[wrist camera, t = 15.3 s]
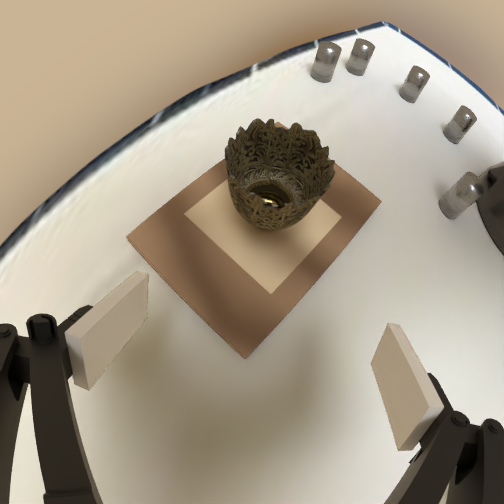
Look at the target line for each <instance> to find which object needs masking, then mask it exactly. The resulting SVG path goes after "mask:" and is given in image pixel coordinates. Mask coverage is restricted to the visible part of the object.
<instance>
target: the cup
mask: <svg viewBox="0 0 504 504" xmlns="http://www.w3.org/2000/svg"><path fill="white" fill-rule="evenodd" d="M328 155H329V147H328V146H327V147H324V148H322V147H321V144H320V139H319V137H318V136H317V134H316V132H315V131H313V130H303V129H302V126H301V125H300V124H298V123H294V124H292V126H291V128H290V129H285V128H284V127H278V128H277V127H276V126H275V125H274V119H269V120H268V121H267V123H266V124H265V123H264V122H263V121H262V120H261V119H258V118H257V119H255V120H253V121H252V123H251V124H250V125H249V127H248V128H247V130H245V129H243V128H242V127H241V126H240V127H239V129H238V131H237V133H236V140H234V139H233V138H229V141H228V146H227V147H225V165H226V172H227V180H228V186H229V192H230V196H231V199H232V202H233V204H234V206H235V209H236V210H237V212H238V213H239V214H240V215H241V217H242V218H244V219H245V220H246V221H247V222H248V223H250V224H252V225H253V226H255V227H257V228H259V229H262V230H281V229H285V228H288V227H291V226H293V225H295V224H296V223H298V222H299V221H301V220H302V219H303V218H304V217H305V216H306V215H307V214H308V213H309V212H310V211H311V209H312V208H313V207H314V206H315V205H316V203H317V202H318V201H319V199H320V198H321V197H322V196H323V194H324V193H325V192H326V191H327V190H328V189H329V188H330V186H331V184H330V183H331V181H332V180H333V178H334V175H335V170H334V163H335V161H334V160H327V159H328Z"/></svg>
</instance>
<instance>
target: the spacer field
mask: <svg viewBox="0 0 504 504" xmlns="http://www.w3.org/2000/svg"><path fill="white" fill-rule="evenodd" d="M374 49H375V46H374V45H373V44H372V43H371V42H369V41H367V40H364V39H356V41H355V44H354V47H353V49H352V52H351V55H350V57H349V60H348V63H347V65H346V69H347V70H348V71H349V72H350V73H352V74H354V75H357V76H362V75H364V72H365V70H366V68H367V65H368V63H369V61H370V58H371V56H372V54H373V51H374ZM341 50H342V49H341V47H340V46H338V45H337V44H335V43H332V42H328V41H321V42H320V44H319V47H318V51H317V54H316V57H315V61H314V64H313V68H312V71H311V76H312V78H313V79H315V80H317V81H319V82H323V83H327V82H330V81H331V79H332V76H333V73H334V70H335V67H336V64H337V61H338V59H339V56H340V53H341ZM429 78H430V75H429V74H428V73H427V72H426V71H425V70H424V69H422V68H420V67H418V66H413V67H412V69H411V71H410V72H409V74H408V76H407V78H406V80H405V82H404V84H403V85H402V87H401V89H400V91H399V94H400V96H401V97H402V98H403V99H404V100H406V101H408V102H410V103H415V101H416V100H417V98H418V96H419V95H420V93H421V91H422V90H423V88H424V86H425V85H426V83H427V81H428V80H429ZM476 120H477V118H476V116H475V114H474V113H473V112H472V111H471V110H470V109H469V108H467V107H466V106H461V107H460V108H459V110H458V111H457V113H456V114H455V115H454V117H453V118H452V119H451V121H450V122H449V124H448V125H447V126H446V128H445V129H444V131H443V132H444V135H445V136H446V138H447V139H448V140H449V141H451V142H452V143H454V144H458V143H459V141H460V140H461V139H462V138H463V137H464V135H465V134H466V133H467V132H468V130H469V129H470V128H471V127H472V125H473V124H474V123H475V122H476ZM483 194H484V187H483V184H482V182H481V181H480V179H479V178H478V177H477V176H476V175H475V174H473V173H471V172H467V173H466V174H465V175H464V176H463V177H462V178H461V179H460V180H459V181H458V182H457V183H456V184H455V185H454V186H453V187H452V188H451V189H450V190H449V191H448V192H447V193H446V194H445V195H444V196H443V197H442V198H441V199H440V200H439V206H440V209H441V211H442V212H443V214H444V215H445V216H446V217H448V218H450V219H455V218H456V217H458V216H459V215H460V214H461V213H462V212H463V211H465V210H466V209H467V208H468V207H469V206H470V205H472V204H473V203H474V202H475V201H476V200H477V199H478V198H479V197H481V196H482V195H483Z"/></svg>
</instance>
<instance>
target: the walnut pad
mask: <svg viewBox="0 0 504 504" xmlns="http://www.w3.org/2000/svg"><path fill="white" fill-rule="evenodd" d="M274 125H275V126H276V127H277V128H278V127H284V128H285V129H288V128H286V127H285V126H284V125H282V124H281V123H279V122H277V123H275V124H274ZM327 160H330V159H329V158H328V159H327ZM334 170H335V175H334V178H333V180H332V181H331V183H330V184H331V186H330V188H329V189H328V190H327V191H326V192H325V193H324V194H323V196H322V197H321V198H320V199H319V201H318V202H317V203H316V205H315V206H314V207H313V208H312V209H311V211H310V212H309V213H308V214H307V215H306V216H305V217H304V218H303V219H302V220H301V221H299V222H298V223H296V224H295V225H293V226H291V227H288V228H285V229H281V230H262V229H259V228H257V227H255V226H253V225H252V224H250V223H248V222H247V221H246V220H245V219H244V218H242V217H241V215H240V214H239V213H238V212H237V210H236V209H235V206H234V204H233V202H232V199H231V196H230V192H229V186H228V180H227V172H226V165H225V159H223V160H222V161H221V162H219V163H218V164H216V165H215V166H214V167H212V168H211V169H210V170H208V171H207V172H206V173H204V174H203V175H202V176H200V177H199V178H198V179H196V180H195V181H194V182H193V183H191V184H190V185H189V186H187V187H186V188H185V189H183V190H182V191H181V192H180V193H178V194H177V195H176V196H175V197H173V198H172V199H171V200H170V201H168V202H167V203H166V204H165V205H163V206H162V207H161V208H160V209H158V210H157V211H156V212H155V213H154V214H152V215H151V216H150V217H149V218H148V219H146V220H145V221H144V222H143V223H142V224H140V225H139V226H138V227H137V228H136V229H135V230H133V231H132V232H131V233H130V234H129V235H128V236H126V238H127V239H128V241H129V242H130V243H131V244H132V245H133V247H134V248H135V249H136V250H137V251H138V252H139V253H140V254H141V255H142V257H143V258H144V259H145V260H146V261H147V262H148V263H149V264H150V265H151V266H152V267H153V268H154V270H155V271H156V272H157V273H158V274H159V275H160V276H161V277H162V278H163V279H164V280H165V281H166V282H167V283H168V284H169V285H170V286H171V288H172V289H173V290H174V291H175V292H176V293H177V294H178V295H179V296H180V297H181V298H182V299H183V300H184V301H185V302H186V303H187V304H188V305H189V306H190V307H191V308H192V309H193V310H194V311H195V312H196V313H197V314H198V315H199V316H200V317H201V318H202V319H203V320H204V321H205V322H206V323H207V324H208V325H209V326H210V327H211V328H212V329H213V330H214V331H215V332H217V333H218V334H219V335H220V336H221V337H222V338H223V339H224V340H225V341H226V342H227V343H228V344H229V345H230V346H231V347H232V348H233V349H235V350H236V351H237V352H238V353H239V354H240V355H241V356H242V357H243V358H244V359H246V358H247V357H248V356H249V355H250V354H251V353H252V352H253V351H254V350H255V348H256V347H257V346H258V345H259V344H260V343H261V342H262V341H263V340H264V339H265V338H266V337H267V336H268V335H269V334H270V333H271V331H272V330H273V329H274V328H275V327H276V326H277V325H278V324H279V323H280V322H281V321H282V319H283V318H284V317H285V316H286V315H287V314H288V313H289V312H290V311H291V310H292V308H293V307H294V306H295V305H296V304H297V303H298V302H299V301H300V299H301V298H302V297H303V296H304V295H305V294H306V293H307V292H308V290H309V289H310V288H311V287H312V286H313V285H314V283H315V282H316V281H317V280H318V279H319V278H320V277H321V275H322V274H323V273H324V272H325V271H326V269H327V268H328V267H329V266H330V265H331V264H332V262H333V261H334V260H335V259H336V258H337V256H338V255H339V254H340V253H341V252H342V250H343V249H344V248H345V247H346V246H347V244H348V243H349V242H350V241H351V239H352V238H353V237H354V236H355V235H356V233H357V232H358V231H359V230H360V228H361V227H362V226H363V225H364V223H365V222H366V221H367V220H368V218H369V217H370V216H371V215H372V213H373V212H374V211H375V209H376V208H377V207H378V206H379V204H380V203H381V202H382V201H381V200H380V199H378V198H377V197H376V196H375V195H374V194H373V193H371V192H370V191H369V190H368V189H367V188H365V187H364V186H363V185H362V184H361V183H359V182H358V181H357V180H356V179H354V178H353V177H352V176H351V175H350V174H348V173H347V172H346V171H344V170H343V169H342V168H341V167H339V166H338V165H337V164H336V163H334Z"/></svg>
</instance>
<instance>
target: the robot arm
mask: <svg viewBox="0 0 504 504" xmlns="http://www.w3.org/2000/svg"><path fill="white" fill-rule="evenodd" d="M479 179H480V181H481V182H482V184H483V187H484V194H483V195H482V196H481V197H479V198H478V199H477V203H478V207H479V210H480V213H481V216H482V219H483V221H484V223H485V226H486V228H487V230H488V232H489V233H490V235H491V237H492V239H493V240H494V242H495V243H496V245H497V246H498V248H499V249H500V250H501V251H502V253H503V254H504V162H501V163H499V164H496V165H494V166H491V167H490V168H488V169H487V170H486V171H485V172H484V173H483V174H482V175H481V176H480V177H479ZM148 279H149V274H145V273H141V272H137V271H136V272H135V273H133V274H132V275H131V276H130V277H129V278H127V279H126V280H125V281H124V282H123V283H121V284H120V285H119V286H118V287H116V288H115V289H114V290H113V291H112V292H111V293H109V294H108V295H107V296H106V297H105V298H103V299H102V300H101V301H100V302H99V303H98V304H96V305H95V306H94V307H93V306H90V305H87V306H84V307H82V308H79V309H78V310H77V311H75V312H74V313H73V315H71V316H69V317H68V319H66V320H65V321H63V322H62V323H61V324H60V325H59V326H57V323H56V320H55V318H54V317H53V316H52V315H49V314H36V315H33V316H31V317H30V318H29V319H28V320H27V322H26V325H27V330H28V335H29V337H23V336H18V333H17V329H16V327H15V326H13V325H12V324H0V504H9V495H10V482H11V472H12V464H13V457H14V450H15V444H16V438H17V432H18V427H19V422H20V417H21V412H22V408H23V403H24V399H25V395H26V391H27V387H28V383H29V384H30V386H31V402H32V413H33V422H34V430H35V438H36V444H37V451H38V456H39V462H40V467H41V472H42V477H43V481H44V485H45V490H46V493H45V494H44V495H43V499H44V504H103V502H102V500H101V497H100V495H99V492H98V489H97V487H96V484H95V481H94V478H93V476H92V473H91V470H90V467H89V464H88V460H87V457H86V454H85V451H84V447H83V444H82V440H81V436H80V433H79V429H78V425H77V421H76V417H75V412H74V408H73V403H72V399H71V394H70V389H69V384H68V379H69V378H70V377H71V376H72V375H73V379H74V384H75V385H77V386H80V387H82V388H84V389H86V390H90V389H91V388H92V386H93V385H94V384H95V383H96V381H97V380H98V379H99V377H100V376H101V375H102V374H103V372H104V371H105V370H106V368H107V367H108V366H109V365H110V363H111V362H112V361H113V360H114V358H115V357H116V356H117V355H118V353H119V352H120V351H121V350H122V348H123V347H124V346H125V345H126V343H127V342H128V341H129V340H130V338H131V337H132V336H133V335H134V333H135V332H136V331H137V330H138V328H139V327H140V326H141V325H142V324H143V322H144V321H145V320H146V319H147V303H148ZM371 366H372V369H373V372H374V375H375V378H376V381H377V384H378V387H379V390H380V393H381V396H382V399H383V403H384V406H385V409H386V412H387V415H388V419H389V422H390V425H391V429H392V432H393V436H394V439H395V443H396V446H397V450H398V451H406V450H413V449H414V447H415V446H416V445H417V444H418V442H420V445H421V449H420V450H419V451H418V452H417V454H416V455H415V456H414V457H413V458H412V460H411V461H410V462H409V463H410V466H409V467H408V469H407V471H406V472H405V474H404V475H403V477H402V478H401V480H400V481H399V483H398V484H397V486H396V487H395V489H394V490H393V492H392V493H391V495H390V496H389V497H388V499H387V500H386V501H385V503H384V504H439V503H440V501H441V499H442V497H443V495H444V492H445V490H446V488H447V486H448V484H449V488H448V494H447V500H446V504H504V429H503V427H502V425H501V424H500V423H499V422H498V421H497V420H494V419H490V418H489V419H486V420H485V421H484V422H483V423H482V425H481V426H477V425H473V424H470V421H469V419H468V418H467V417H466V415H464V414H463V413H461V412H459V411H454V410H453V408H452V406H451V404H450V402H449V401H448V399H447V397H446V395H445V394H444V391H443V389H442V388H441V386H440V384H439V382H438V380H437V379H436V378H435V377H434V376H433V375H432V374H431V373H426V371H425V369H424V367H423V365H422V363H421V362H420V360H419V358H418V356H417V354H416V353H415V351H414V349H413V347H412V345H411V344H410V342H409V340H408V338H407V337H406V335H405V333H404V332H403V330H402V328H401V326H400V325H396V324H390V323H388V324H387V326H386V329H385V331H384V334H383V336H382V338H381V341H380V343H379V345H378V348H377V350H376V352H375V355H374V357H373V359H372V361H371Z"/></svg>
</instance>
